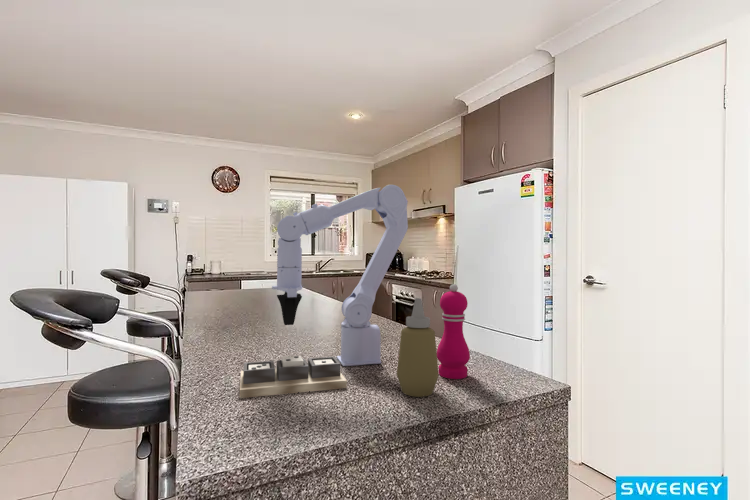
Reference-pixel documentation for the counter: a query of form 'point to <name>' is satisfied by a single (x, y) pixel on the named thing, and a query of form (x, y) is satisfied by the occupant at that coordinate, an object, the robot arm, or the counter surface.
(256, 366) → the tile three
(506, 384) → the counter surface
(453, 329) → the pepper mill
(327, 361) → the tile one
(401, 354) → the squeeze bottle
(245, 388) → the tile board
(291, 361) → the tile two
